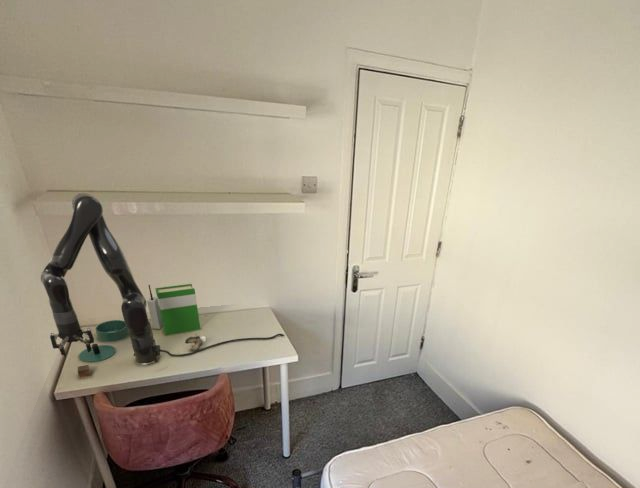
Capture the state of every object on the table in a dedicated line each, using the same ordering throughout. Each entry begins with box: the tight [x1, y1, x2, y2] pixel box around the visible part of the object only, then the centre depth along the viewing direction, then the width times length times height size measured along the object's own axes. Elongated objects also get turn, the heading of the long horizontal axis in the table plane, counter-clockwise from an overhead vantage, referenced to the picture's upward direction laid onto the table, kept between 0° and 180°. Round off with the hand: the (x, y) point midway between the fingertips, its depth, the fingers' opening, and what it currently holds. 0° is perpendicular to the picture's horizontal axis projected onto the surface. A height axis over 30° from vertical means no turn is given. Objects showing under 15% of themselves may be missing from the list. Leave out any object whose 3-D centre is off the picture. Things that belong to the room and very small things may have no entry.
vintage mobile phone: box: [146, 284, 163, 330], centre depth 206 cm, size 4×5×25 cm
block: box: [77, 364, 92, 379], centre depth 170 cm, size 4×4×4 cm
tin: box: [95, 319, 130, 343], centre depth 200 cm, size 14×14×6 cm
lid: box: [78, 343, 116, 363], centre depth 184 cm, size 15×15×6 cm
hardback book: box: [154, 283, 201, 336], centre depth 207 cm, size 18×7×24 cm, turn 122°
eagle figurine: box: [184, 333, 207, 352], centre depth 197 cm, size 8×7×9 cm
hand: (77, 353), depth 166 cm, fingers open, 8 cm apart
